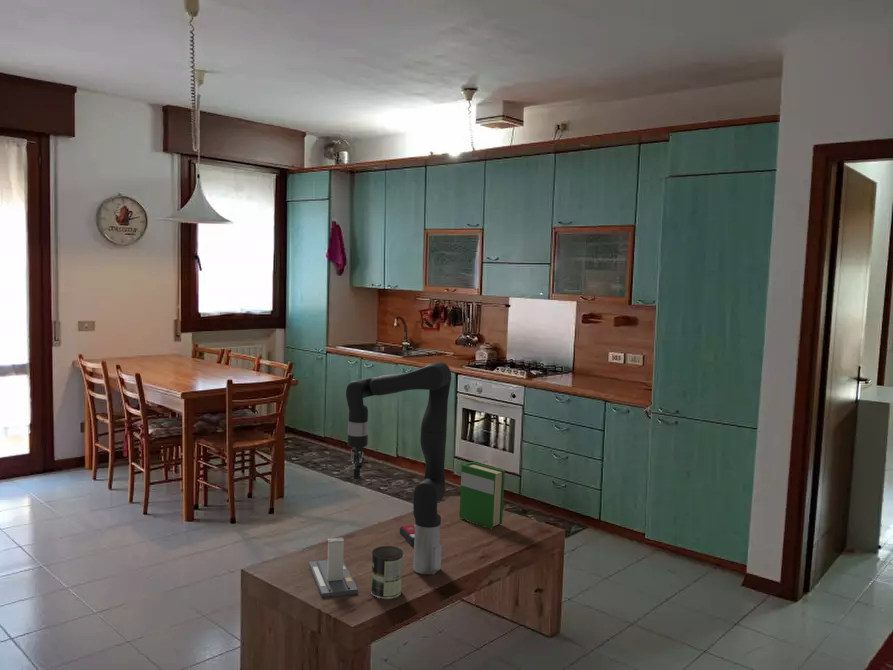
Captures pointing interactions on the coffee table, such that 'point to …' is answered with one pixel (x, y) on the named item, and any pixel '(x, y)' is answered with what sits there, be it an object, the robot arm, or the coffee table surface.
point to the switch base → (332, 587)
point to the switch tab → (335, 559)
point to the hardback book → (482, 494)
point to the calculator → (408, 533)
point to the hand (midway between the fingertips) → (356, 478)
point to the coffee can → (386, 572)
